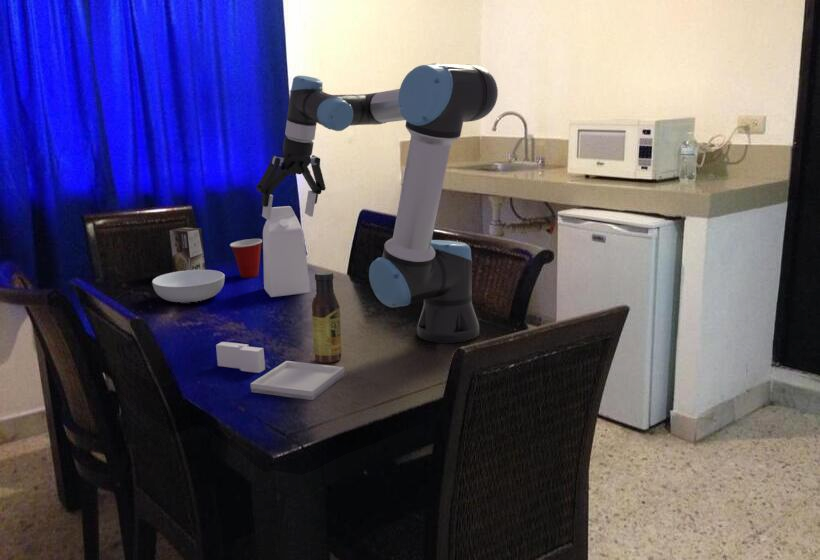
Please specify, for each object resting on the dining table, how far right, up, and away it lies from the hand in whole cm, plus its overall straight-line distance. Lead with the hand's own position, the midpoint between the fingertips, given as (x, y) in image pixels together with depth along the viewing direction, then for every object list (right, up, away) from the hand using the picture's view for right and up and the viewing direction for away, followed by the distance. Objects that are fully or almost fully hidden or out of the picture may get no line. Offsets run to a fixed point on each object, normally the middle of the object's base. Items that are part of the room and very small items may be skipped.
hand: (287, 216), depth 197 cm
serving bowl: (-33, -23, +25) cm, 47 cm away
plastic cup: (-22, -16, +53) cm, 59 cm away
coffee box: (-43, -16, +57) cm, 73 cm away
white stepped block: (-4, -37, -35) cm, 51 cm away
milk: (-6, -20, +32) cm, 38 cm away
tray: (+10, -38, -45) cm, 60 cm away
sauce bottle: (+14, -35, -31) cm, 49 cm away
